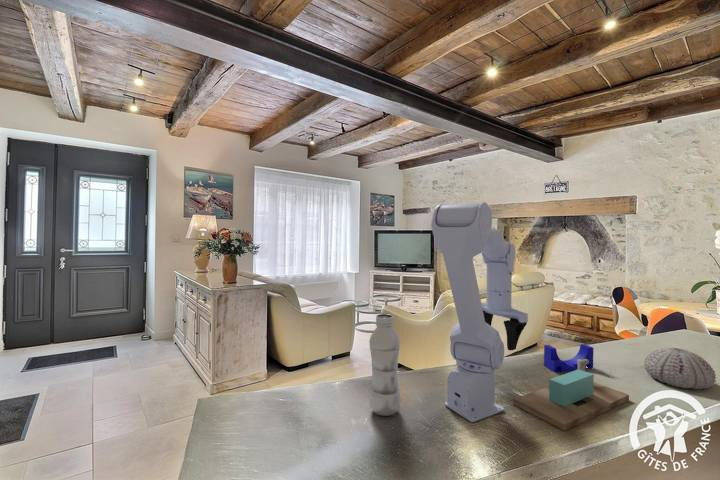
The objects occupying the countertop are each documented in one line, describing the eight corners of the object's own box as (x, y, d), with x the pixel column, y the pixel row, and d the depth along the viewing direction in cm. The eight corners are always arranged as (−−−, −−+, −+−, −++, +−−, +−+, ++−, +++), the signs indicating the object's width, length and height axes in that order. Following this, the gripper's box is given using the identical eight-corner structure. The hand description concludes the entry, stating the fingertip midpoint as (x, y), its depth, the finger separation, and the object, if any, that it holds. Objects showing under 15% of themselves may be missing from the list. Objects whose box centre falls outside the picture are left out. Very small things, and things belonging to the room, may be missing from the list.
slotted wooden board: (564, 430, 64) (565, 398, 64) (513, 404, 74) (513, 376, 73) (630, 399, 76) (630, 372, 75) (578, 380, 85) (579, 356, 85)
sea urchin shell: (732, 391, 80) (733, 357, 80) (685, 396, 78) (685, 361, 77) (671, 368, 93) (672, 339, 93) (629, 372, 91) (630, 342, 90)
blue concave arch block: (554, 373, 90) (554, 350, 90) (543, 366, 95) (544, 345, 95) (597, 371, 91) (597, 349, 91) (585, 365, 96) (585, 344, 95)
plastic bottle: (375, 422, 67) (374, 321, 66) (365, 405, 73) (365, 313, 73) (405, 417, 68) (405, 319, 68) (393, 401, 75) (393, 311, 74)
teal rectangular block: (564, 406, 70) (564, 385, 70) (549, 400, 73) (549, 379, 73) (593, 394, 76) (593, 374, 75) (578, 388, 78) (578, 369, 78)
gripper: (536, 293, 79) (535, 351, 80) (486, 284, 92) (486, 334, 92) (516, 296, 76) (516, 356, 76) (467, 286, 89) (467, 338, 89)
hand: (498, 344), depth 84 cm, fingers open, 7 cm apart
